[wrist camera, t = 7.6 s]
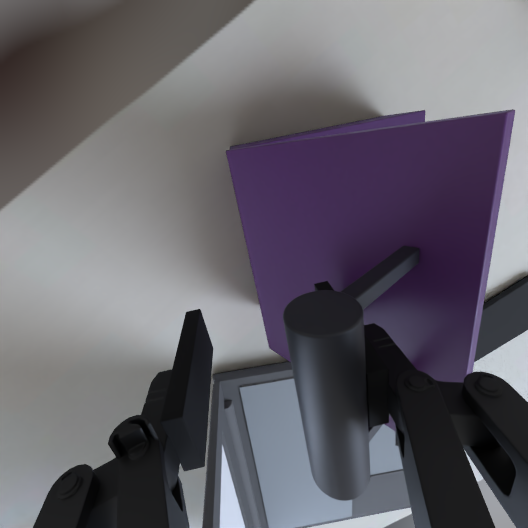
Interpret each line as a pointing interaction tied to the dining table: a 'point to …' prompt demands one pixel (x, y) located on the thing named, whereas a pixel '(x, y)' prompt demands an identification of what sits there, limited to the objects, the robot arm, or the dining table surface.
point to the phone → (503, 318)
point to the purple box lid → (370, 263)
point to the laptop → (281, 459)
